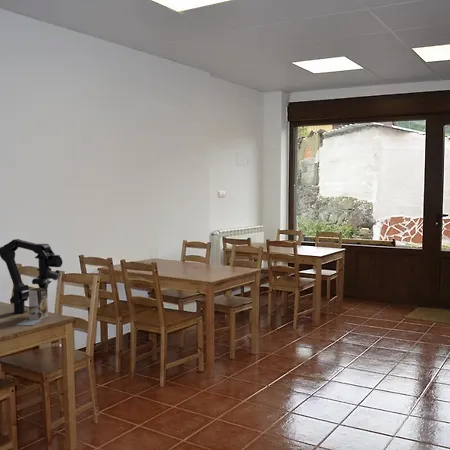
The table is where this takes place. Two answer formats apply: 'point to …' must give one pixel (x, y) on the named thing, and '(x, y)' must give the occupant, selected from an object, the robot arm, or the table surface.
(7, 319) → the table surface
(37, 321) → the mat
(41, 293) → the coffee box
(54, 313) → the table surface
